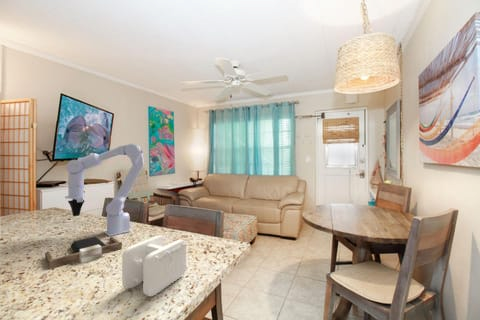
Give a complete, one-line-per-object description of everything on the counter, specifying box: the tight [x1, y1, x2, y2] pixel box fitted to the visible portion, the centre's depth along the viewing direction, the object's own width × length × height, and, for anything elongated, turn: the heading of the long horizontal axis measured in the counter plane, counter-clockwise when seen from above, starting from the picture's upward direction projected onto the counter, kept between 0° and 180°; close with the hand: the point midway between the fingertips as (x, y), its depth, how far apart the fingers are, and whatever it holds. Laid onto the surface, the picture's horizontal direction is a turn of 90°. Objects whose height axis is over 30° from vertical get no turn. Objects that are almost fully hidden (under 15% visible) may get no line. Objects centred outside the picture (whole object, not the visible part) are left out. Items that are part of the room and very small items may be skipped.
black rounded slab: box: [70, 236, 107, 254], centre depth 87 cm, size 11×3×15 cm
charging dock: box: [44, 236, 123, 270], centre depth 83 cm, size 22×14×4 cm, turn 138°
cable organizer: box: [121, 235, 187, 297], centre depth 65 cm, size 15×11×12 cm
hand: (76, 215), depth 102 cm, fingers closed
